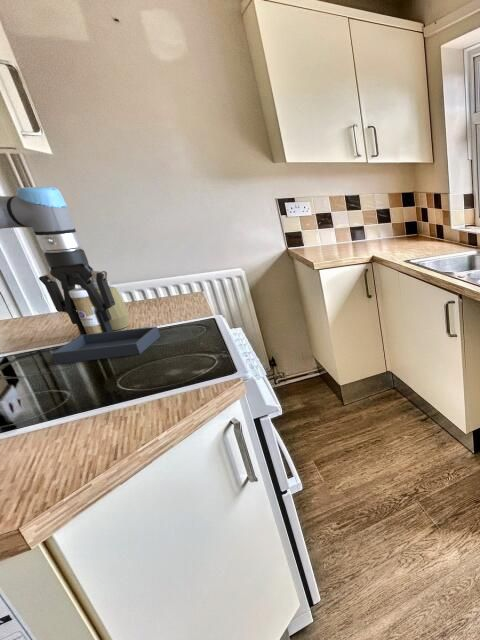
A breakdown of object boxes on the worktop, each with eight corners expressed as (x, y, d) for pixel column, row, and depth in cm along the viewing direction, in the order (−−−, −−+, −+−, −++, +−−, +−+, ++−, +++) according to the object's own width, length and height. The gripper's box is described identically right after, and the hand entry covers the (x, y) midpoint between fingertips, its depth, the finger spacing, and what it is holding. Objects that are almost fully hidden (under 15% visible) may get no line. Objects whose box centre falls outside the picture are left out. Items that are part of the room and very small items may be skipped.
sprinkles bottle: (83, 338, 117) (63, 291, 111) (95, 332, 121) (76, 287, 116) (102, 337, 117) (82, 290, 112) (113, 331, 121) (95, 286, 116)
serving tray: (56, 364, 104) (50, 353, 102) (85, 344, 115) (81, 334, 114) (140, 354, 109) (136, 343, 108) (160, 336, 120) (157, 326, 119)
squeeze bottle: (125, 321, 132) (103, 265, 125) (139, 325, 129) (117, 267, 122) (93, 330, 126) (67, 271, 119) (107, 334, 122) (81, 273, 115)
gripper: (9, 254, 104) (49, 341, 113) (97, 250, 109) (129, 333, 118) (29, 249, 110) (66, 332, 119) (111, 245, 116) (140, 325, 125)
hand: (97, 332), depth 119 cm, fingers closed on sprinkles bottle, 4 cm apart
